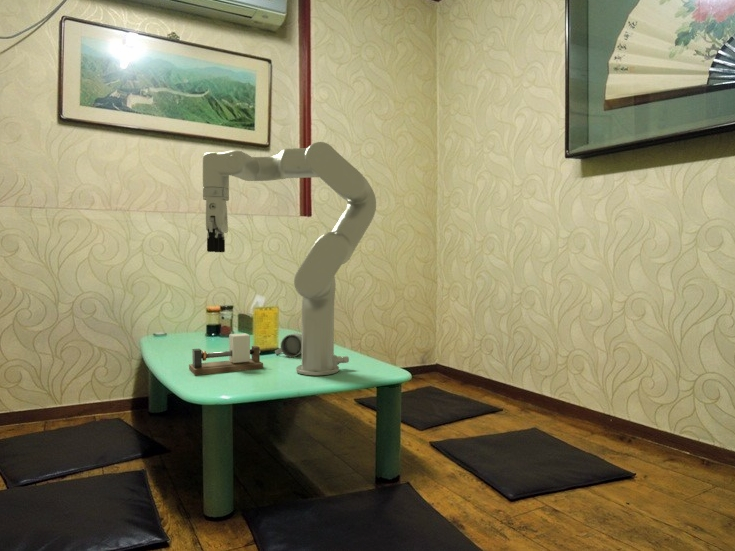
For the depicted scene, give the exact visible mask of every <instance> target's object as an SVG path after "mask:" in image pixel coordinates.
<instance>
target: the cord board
mask: <svg viewBox="0 0 735 551" xmlns="http://www.w3.org/2000/svg"><path fill="white" fill-rule="evenodd" d="M251 349H253V350H254V354H251V358H250V361H248V362H237V363H233V362H231V361H230V360H222V361H220V360H219V361H211V362H202V367H200V368H194V367H193V363H190V364H188V370H189V371H190V372H191V374H193V375H194V376H199V375H200V376H201V375H202V376H203V375H211V374H220V373H230V372H240V371H241V372H242V371H249V370H250V371H251V370H258V369H264V363H263V362H262V361H260V360H261V359H260V357H261V356H260V346H258V345H251Z"/></svg>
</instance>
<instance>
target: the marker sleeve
mask: <svg viewBox="0 0 735 551" xmlns="http://www.w3.org/2000/svg"><path fill="white" fill-rule="evenodd" d="M228 336H229V338H228V339H229V342H228V344H229V345H228V347H229V348H228V351H232V356H228V359H229V360H228V361H231V362H233V363H237V362H248V361H250V359H251V354H250V349H251V335H249V334H248V333H245V332H244V333H230V334H229V335H228Z"/></svg>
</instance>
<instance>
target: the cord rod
mask: <svg viewBox="0 0 735 551" xmlns="http://www.w3.org/2000/svg"><path fill="white" fill-rule="evenodd" d="M191 351H192V357H191V359H192V364H193V367H194V368H200V367H202V363H203V362H202V361H206V360H207V359H211V358H212V359H213V358H224V357H229V356H232V351H229V350H226V351H216V352H207V351H206V350H202V349H201V348H193V349H191ZM252 354H254V350H253V349H252V348H250V355H252Z"/></svg>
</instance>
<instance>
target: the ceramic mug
mask: <svg viewBox="0 0 735 551" xmlns="http://www.w3.org/2000/svg"><path fill="white" fill-rule="evenodd" d="M282 353H283V355H285V356H286V357H288V358H294V357H297V356H299V355H300V354H302V333H298V332H297V333H290V334H287V335H285V336H284V337H283V338H282V339H281V342H280V347H278V349H276V350H274V354H275V355H279V354H282Z"/></svg>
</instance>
